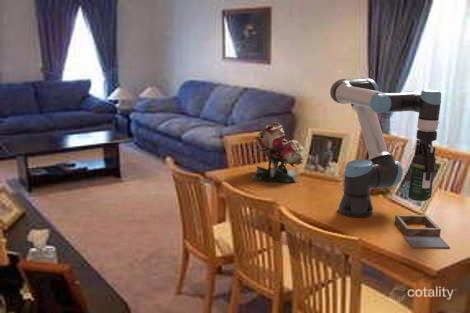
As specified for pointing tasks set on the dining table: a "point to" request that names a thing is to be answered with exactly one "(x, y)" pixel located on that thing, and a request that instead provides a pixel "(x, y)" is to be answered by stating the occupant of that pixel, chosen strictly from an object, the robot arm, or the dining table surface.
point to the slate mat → (426, 242)
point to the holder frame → (430, 231)
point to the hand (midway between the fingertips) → (421, 184)
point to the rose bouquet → (278, 155)
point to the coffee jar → (419, 180)
